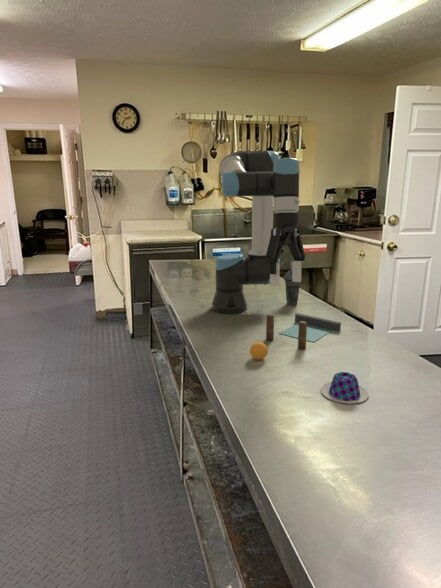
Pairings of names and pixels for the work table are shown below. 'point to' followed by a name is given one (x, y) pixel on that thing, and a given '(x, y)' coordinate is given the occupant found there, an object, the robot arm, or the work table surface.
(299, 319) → the stopper wall
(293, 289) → the beverage cup
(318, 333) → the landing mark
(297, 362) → the work table surface
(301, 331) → the right post
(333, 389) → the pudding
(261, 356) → the ball
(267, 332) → the left post
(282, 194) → the robot arm
